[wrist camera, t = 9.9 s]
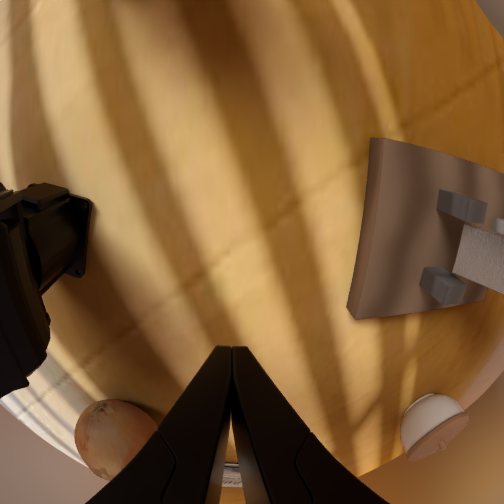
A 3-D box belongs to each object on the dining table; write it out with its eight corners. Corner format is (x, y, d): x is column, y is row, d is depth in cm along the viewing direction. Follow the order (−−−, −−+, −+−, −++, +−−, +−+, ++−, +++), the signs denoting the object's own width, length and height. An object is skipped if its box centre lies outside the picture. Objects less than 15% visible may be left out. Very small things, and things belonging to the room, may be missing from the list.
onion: (120, 432, 28) (106, 492, 19) (73, 385, 24) (45, 450, 15) (181, 427, 28) (177, 498, 18) (136, 375, 24) (114, 459, 15)
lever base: (346, 307, 23) (383, 363, 16) (370, 137, 18) (435, 140, 11) (474, 292, 25) (513, 324, 18) (501, 174, 20) (551, 191, 13)
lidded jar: (433, 375, 29) (465, 421, 21) (453, 389, 32) (480, 425, 24) (378, 423, 32) (400, 471, 23) (407, 429, 35) (427, 468, 26)
